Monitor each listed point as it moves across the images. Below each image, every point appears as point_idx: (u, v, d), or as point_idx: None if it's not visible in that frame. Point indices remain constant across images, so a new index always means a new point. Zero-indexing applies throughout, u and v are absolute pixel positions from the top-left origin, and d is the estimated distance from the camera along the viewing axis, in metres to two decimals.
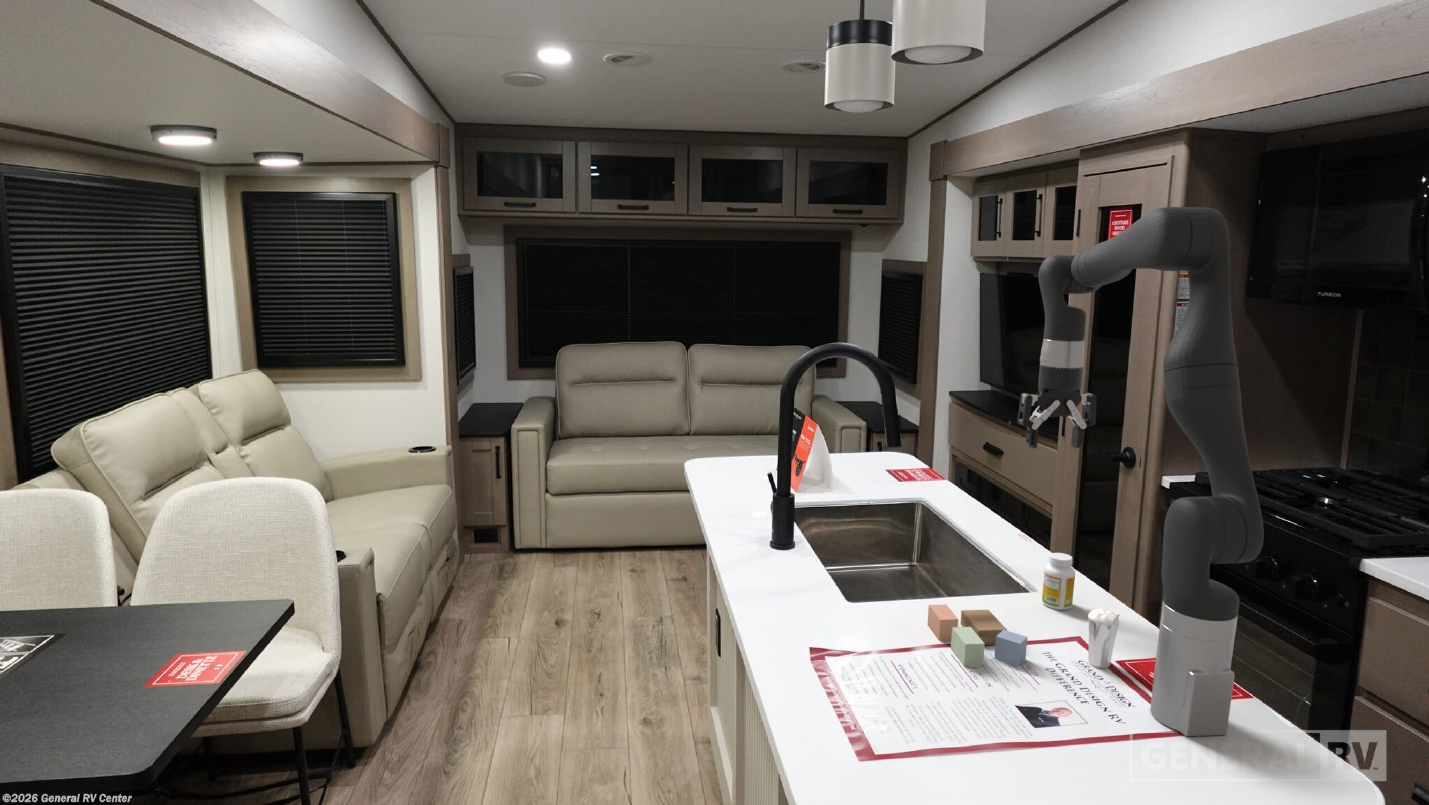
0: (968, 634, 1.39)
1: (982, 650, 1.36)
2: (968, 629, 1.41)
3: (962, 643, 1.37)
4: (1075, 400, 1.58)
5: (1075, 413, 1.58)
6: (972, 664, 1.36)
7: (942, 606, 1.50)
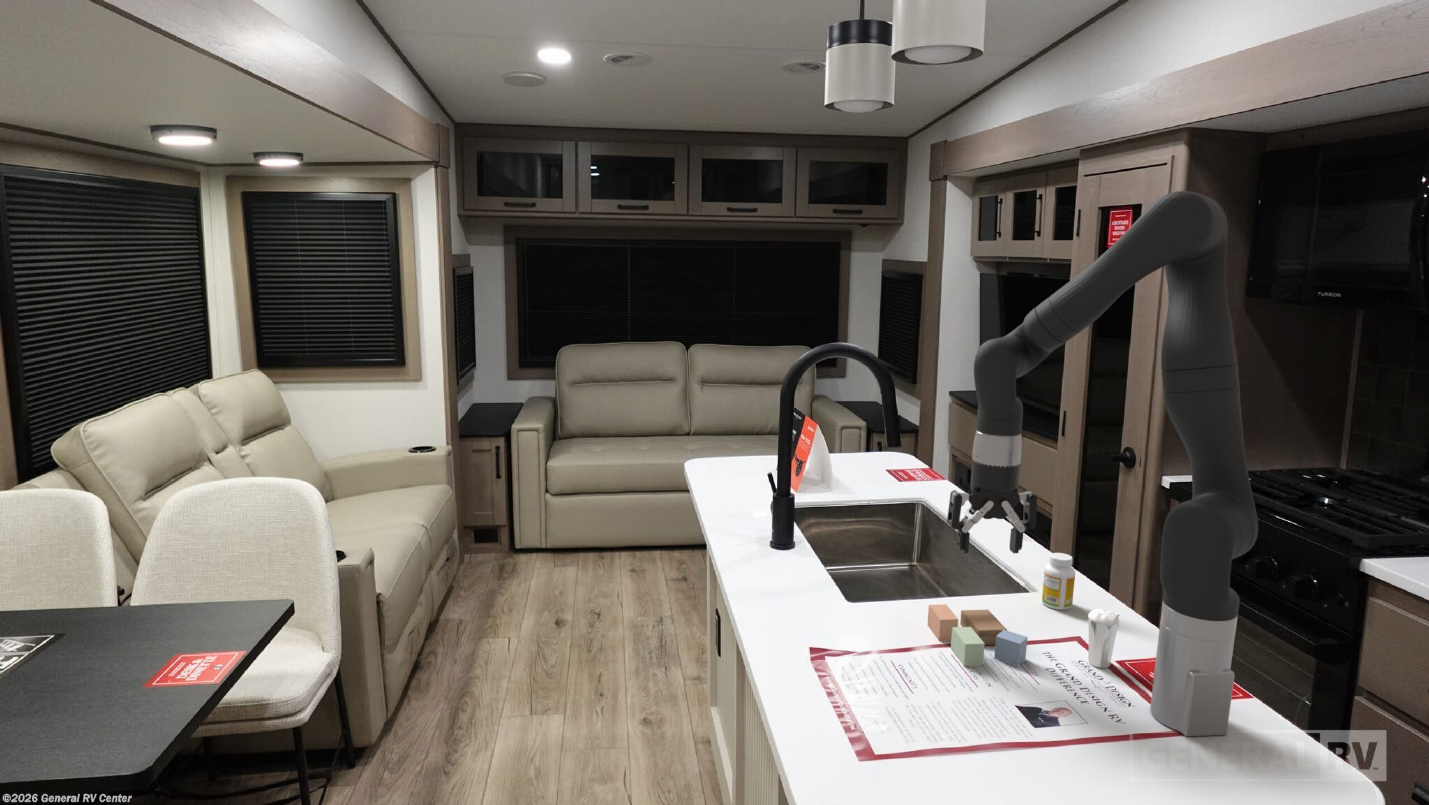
0: (968, 634, 1.39)
1: (982, 650, 1.36)
2: (968, 629, 1.41)
3: (962, 643, 1.37)
4: (1012, 500, 1.38)
5: (1012, 515, 1.38)
6: (972, 664, 1.36)
7: (942, 606, 1.50)
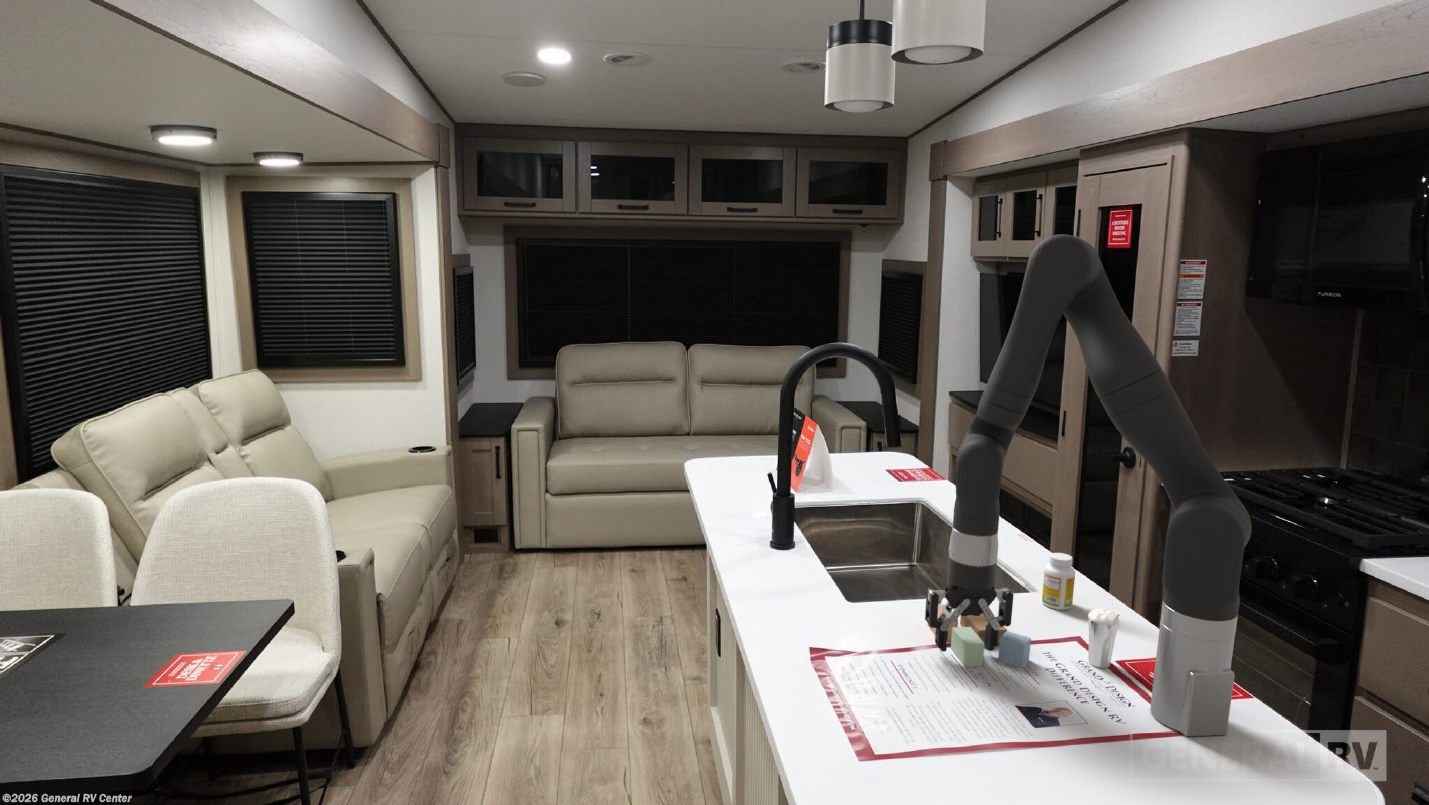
0: (968, 633, 1.39)
1: (982, 650, 1.36)
2: (968, 629, 1.41)
3: (962, 643, 1.37)
4: (988, 598, 1.37)
5: (988, 613, 1.37)
6: (972, 664, 1.36)
7: (942, 606, 1.50)
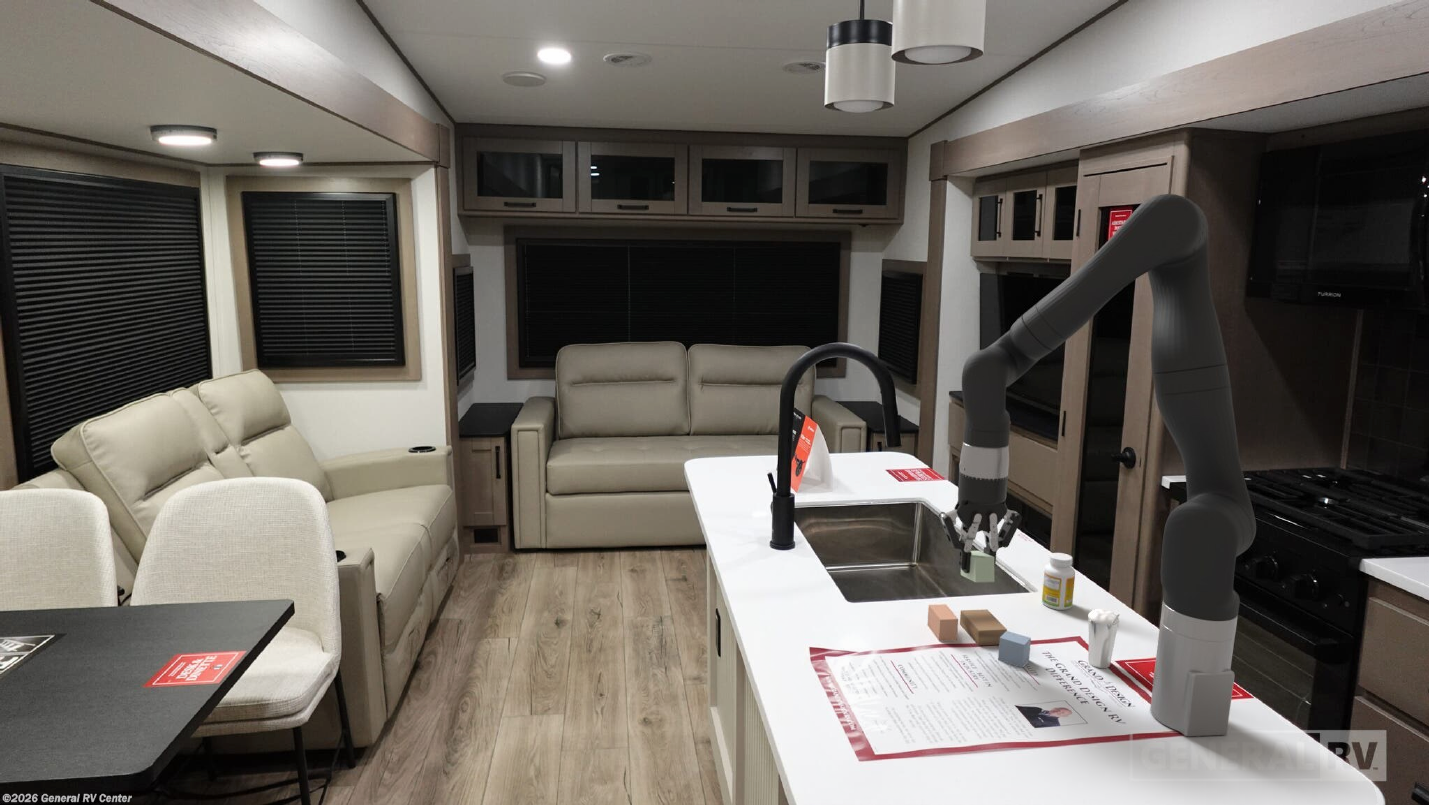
0: (977, 553, 1.39)
1: (992, 564, 1.36)
2: (976, 551, 1.41)
3: (972, 559, 1.37)
4: (999, 513, 1.37)
5: (993, 530, 1.36)
6: (983, 579, 1.36)
7: (942, 606, 1.50)
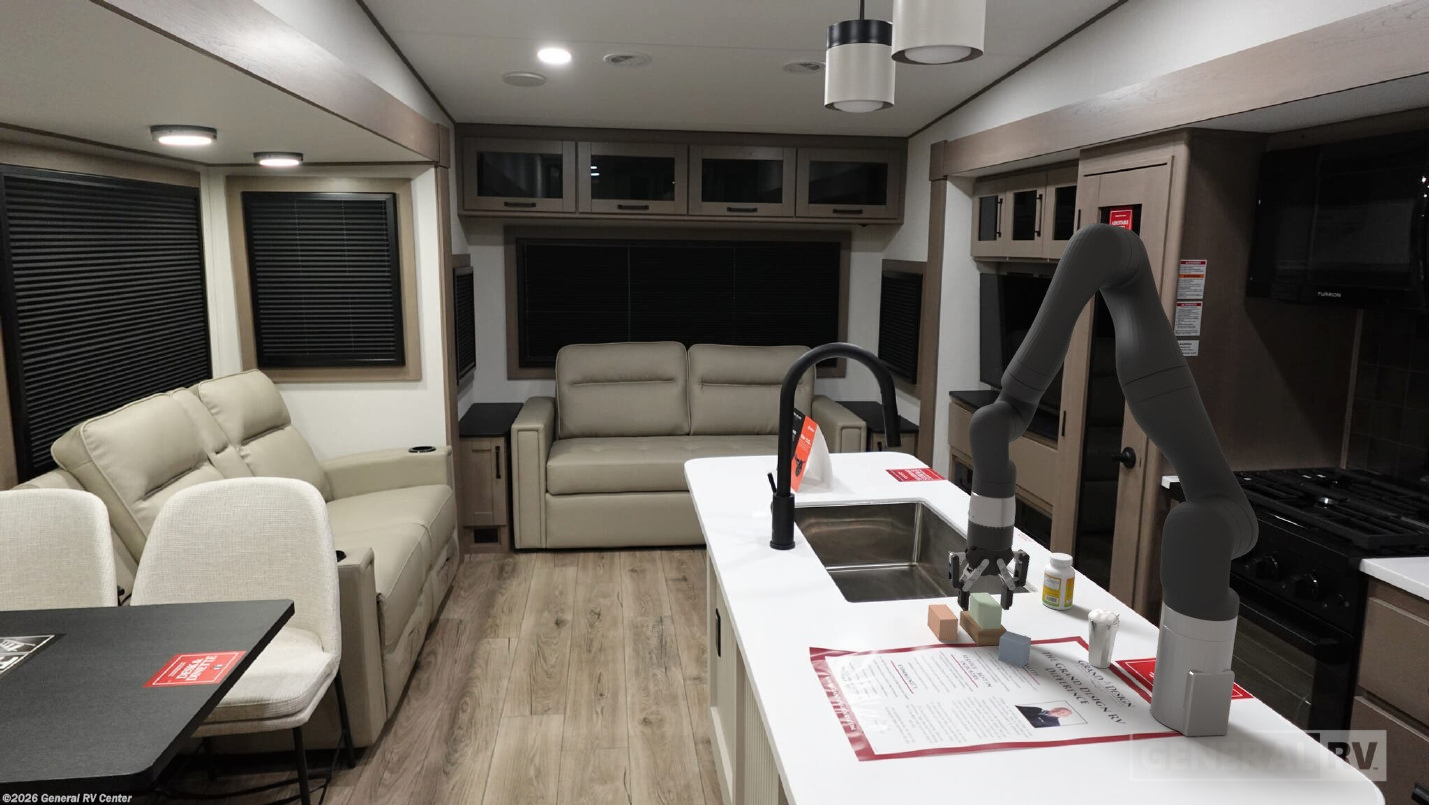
0: (986, 598, 1.46)
1: (1000, 613, 1.43)
2: (986, 594, 1.48)
3: (981, 607, 1.44)
4: (1006, 558, 1.44)
5: (1005, 573, 1.44)
6: (990, 627, 1.44)
7: (942, 606, 1.50)
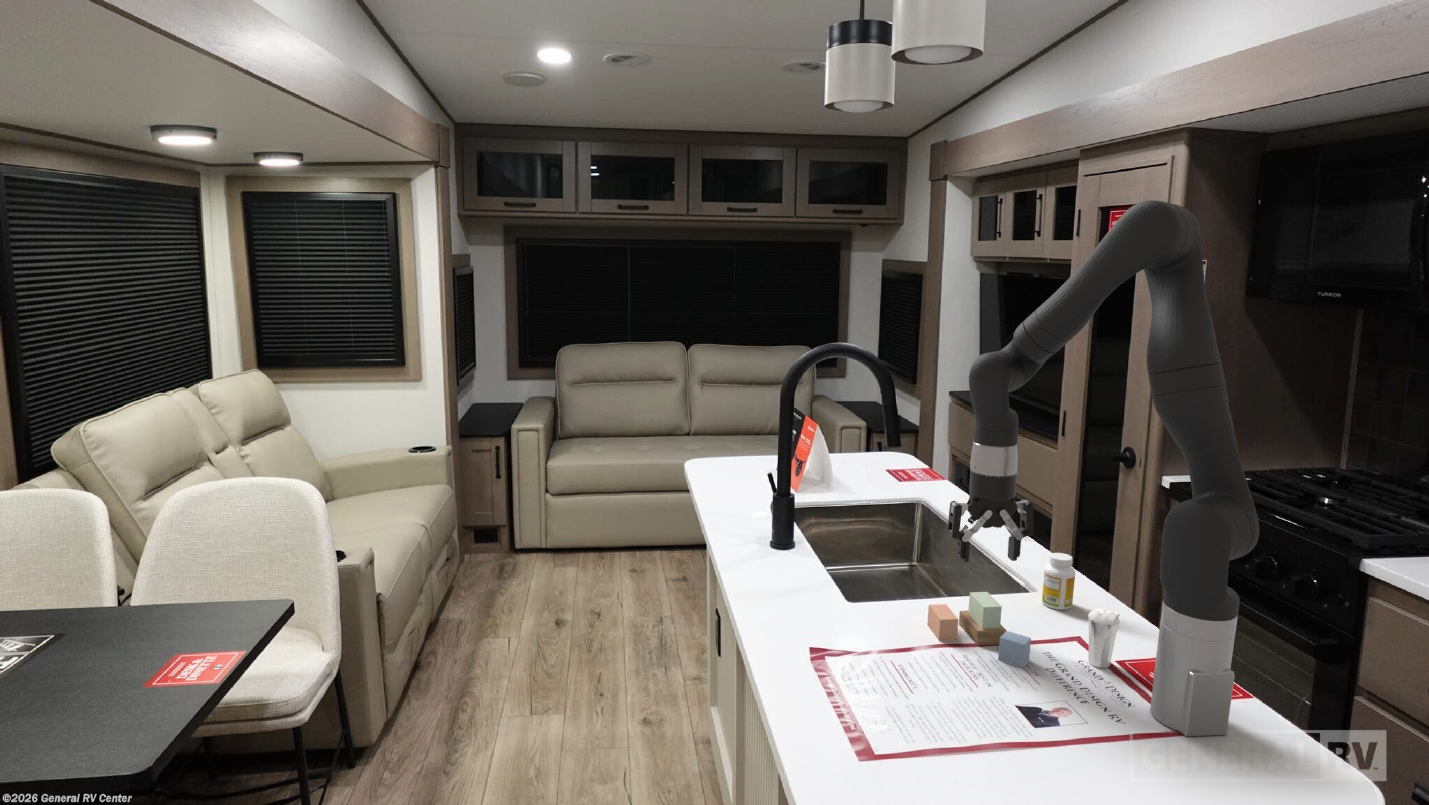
0: (985, 598, 1.47)
1: (999, 613, 1.44)
2: (985, 594, 1.48)
3: (980, 607, 1.44)
4: (1009, 509, 1.42)
5: (1010, 523, 1.42)
6: (990, 626, 1.44)
7: (942, 606, 1.50)
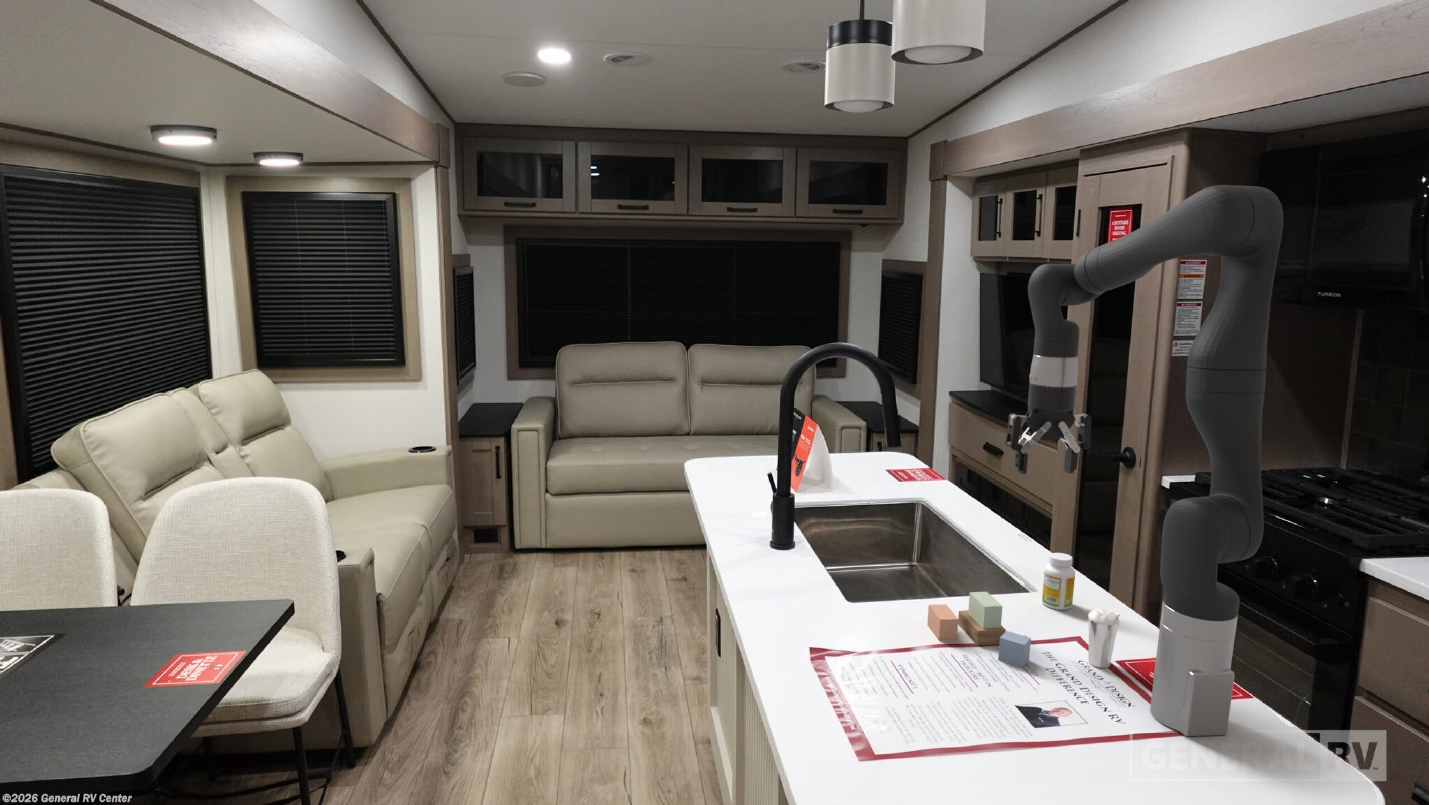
0: (985, 597, 1.47)
1: (1000, 612, 1.44)
2: (985, 593, 1.49)
3: (981, 606, 1.44)
4: (1068, 422, 1.45)
5: (1068, 436, 1.45)
6: (991, 626, 1.44)
7: (942, 606, 1.50)
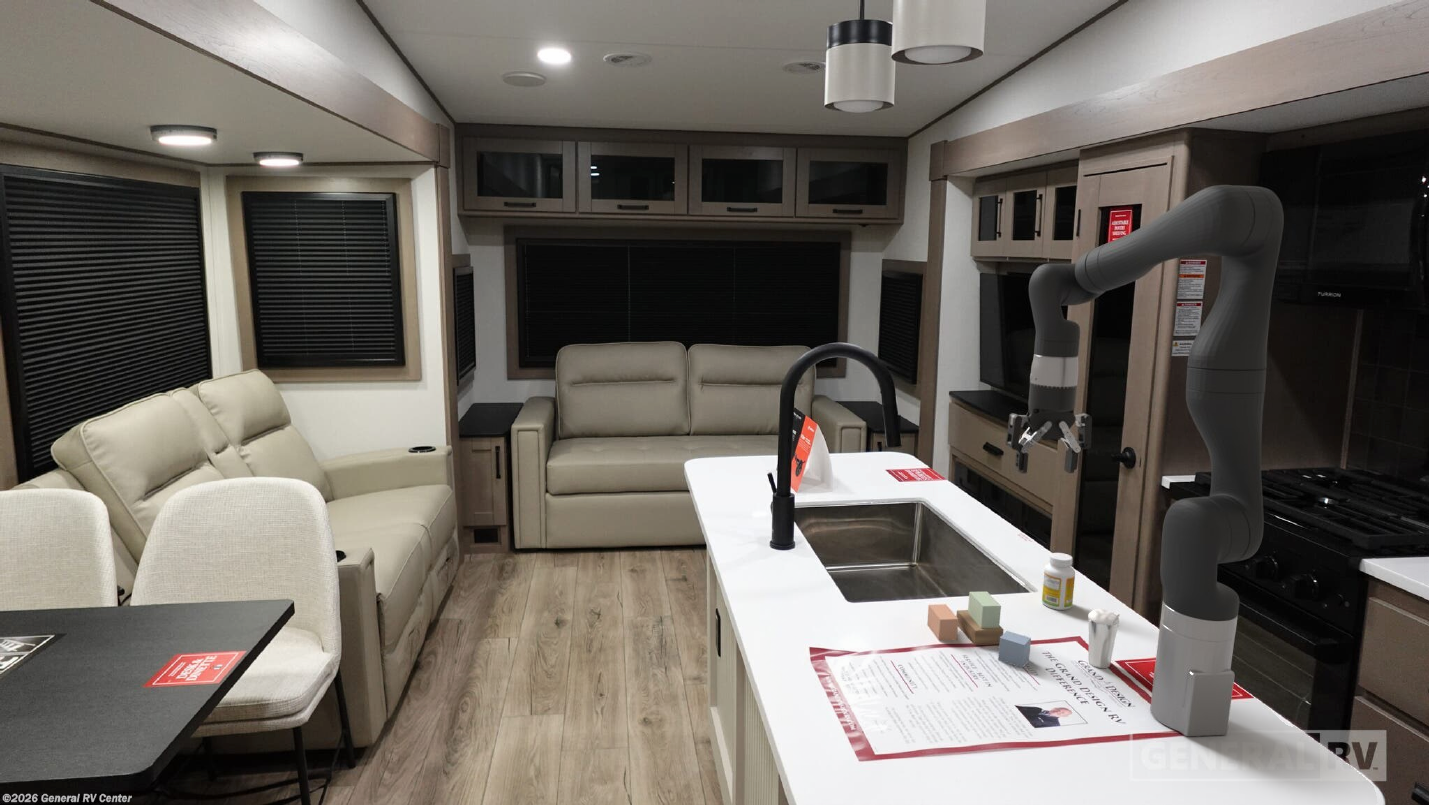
0: (984, 597, 1.47)
1: (998, 612, 1.44)
2: (985, 593, 1.49)
3: (980, 606, 1.44)
4: (1068, 421, 1.45)
5: (1068, 435, 1.45)
6: (989, 625, 1.44)
7: (942, 606, 1.50)
